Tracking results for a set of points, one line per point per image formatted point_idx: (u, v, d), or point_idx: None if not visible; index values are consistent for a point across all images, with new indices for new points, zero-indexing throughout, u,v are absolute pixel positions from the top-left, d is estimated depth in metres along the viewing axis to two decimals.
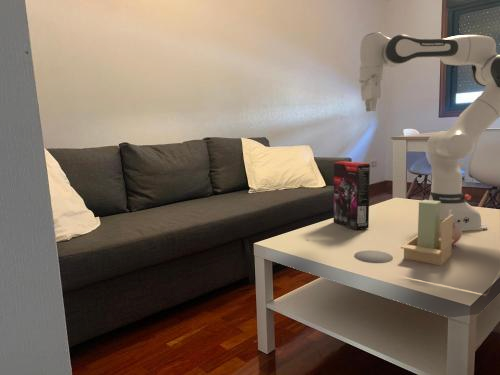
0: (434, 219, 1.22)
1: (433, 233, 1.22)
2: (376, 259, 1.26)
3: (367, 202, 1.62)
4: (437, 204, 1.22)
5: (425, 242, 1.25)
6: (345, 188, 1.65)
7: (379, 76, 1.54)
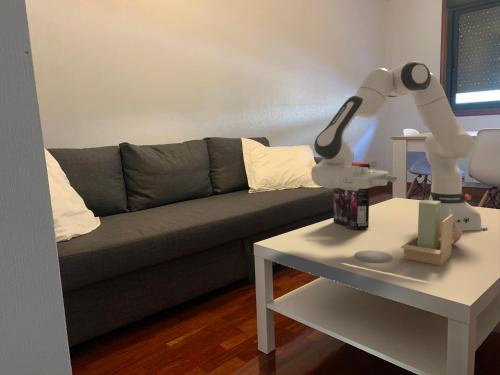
0: (434, 219, 1.22)
1: (433, 233, 1.22)
2: (376, 259, 1.26)
3: (367, 202, 1.62)
4: (437, 204, 1.22)
5: (425, 242, 1.25)
6: None
7: (350, 172, 1.37)
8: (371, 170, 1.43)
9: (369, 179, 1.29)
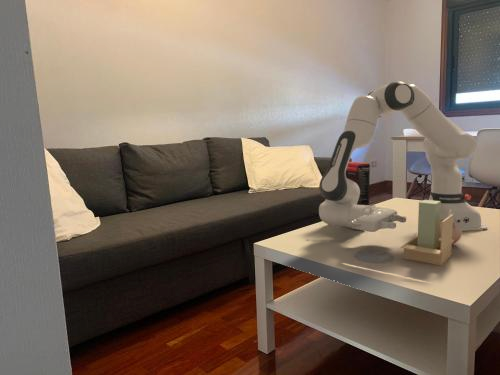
0: (434, 219, 1.22)
1: (433, 233, 1.22)
2: (376, 259, 1.26)
3: (367, 202, 1.62)
4: (437, 204, 1.22)
5: (425, 242, 1.25)
6: None
7: (358, 212, 1.37)
8: (379, 208, 1.43)
9: (378, 222, 1.29)
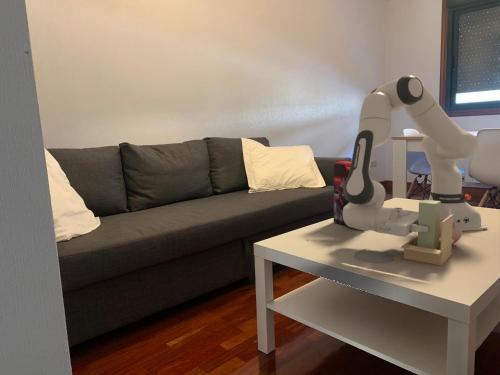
0: (434, 219, 1.22)
1: (433, 233, 1.22)
2: (376, 259, 1.26)
3: None
4: (437, 204, 1.22)
5: (425, 242, 1.25)
6: None
7: (386, 216, 1.30)
8: (406, 211, 1.37)
9: (409, 226, 1.22)
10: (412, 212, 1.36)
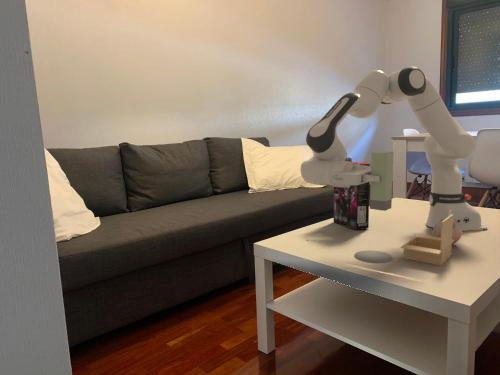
0: (386, 168, 1.21)
1: (385, 183, 1.21)
2: (376, 259, 1.26)
3: (367, 202, 1.62)
4: (389, 153, 1.21)
5: (377, 193, 1.23)
6: (345, 188, 1.65)
7: (341, 168, 1.29)
8: (363, 166, 1.36)
9: (360, 175, 1.21)
10: (369, 167, 1.35)
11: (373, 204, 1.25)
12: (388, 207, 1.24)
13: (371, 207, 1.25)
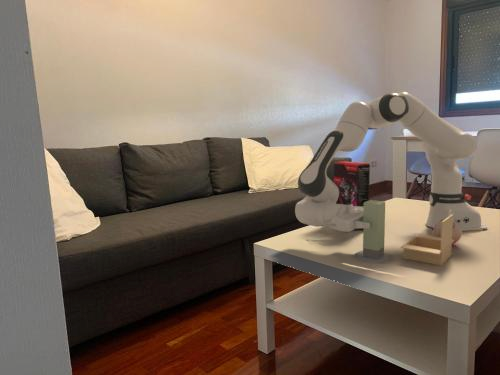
0: (377, 219, 1.23)
1: (377, 233, 1.24)
2: None
3: None
4: (381, 204, 1.24)
5: (369, 242, 1.26)
6: (345, 188, 1.65)
7: (334, 212, 1.32)
8: (356, 207, 1.38)
9: (352, 221, 1.24)
10: (362, 208, 1.38)
11: (366, 253, 1.28)
12: (381, 255, 1.27)
13: (364, 255, 1.28)
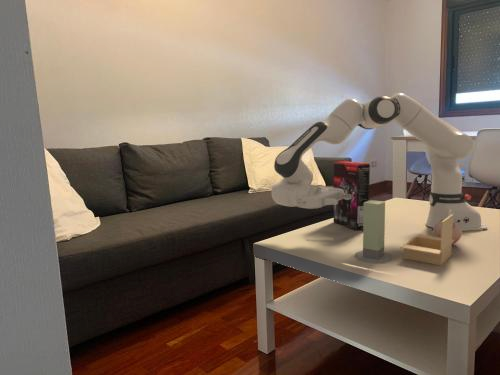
0: (377, 219, 1.24)
1: (377, 233, 1.24)
2: None
3: None
4: (381, 204, 1.24)
5: (369, 242, 1.26)
6: (345, 188, 1.65)
7: (305, 191, 1.42)
8: (327, 188, 1.49)
9: (321, 199, 1.34)
10: (332, 188, 1.48)
11: (366, 253, 1.28)
12: (381, 255, 1.27)
13: (364, 255, 1.28)
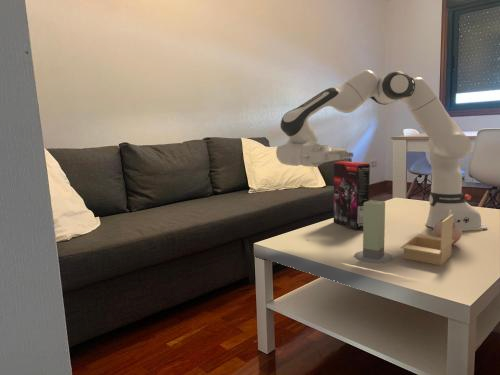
0: (377, 219, 1.24)
1: (377, 233, 1.24)
2: None
3: None
4: (381, 204, 1.24)
5: (369, 242, 1.26)
6: (345, 188, 1.65)
7: (309, 149, 1.47)
8: (331, 148, 1.54)
9: (325, 154, 1.39)
10: (335, 148, 1.53)
11: (366, 253, 1.28)
12: (381, 255, 1.27)
13: (364, 255, 1.28)
